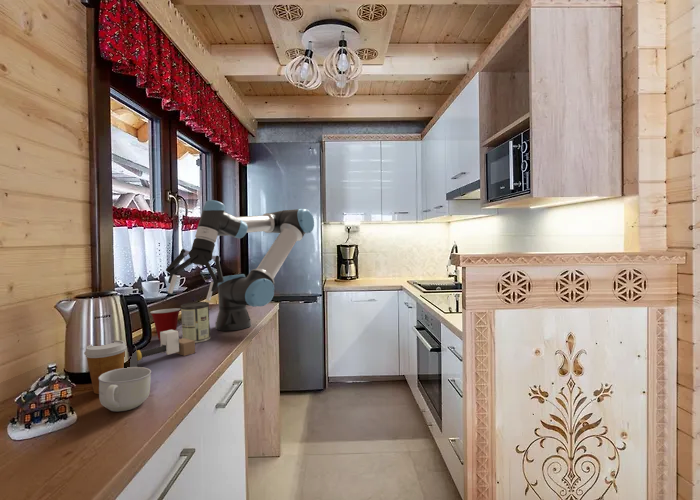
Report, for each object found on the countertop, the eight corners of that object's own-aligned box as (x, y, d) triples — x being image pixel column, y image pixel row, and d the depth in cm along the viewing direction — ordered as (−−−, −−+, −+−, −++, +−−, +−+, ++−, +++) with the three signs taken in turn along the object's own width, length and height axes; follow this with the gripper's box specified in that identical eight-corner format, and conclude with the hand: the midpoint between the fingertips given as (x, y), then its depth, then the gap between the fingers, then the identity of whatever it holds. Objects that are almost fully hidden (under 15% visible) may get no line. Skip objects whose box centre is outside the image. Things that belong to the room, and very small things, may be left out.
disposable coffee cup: (109, 381, 107) (107, 339, 106) (137, 383, 104) (134, 340, 104) (77, 395, 98) (74, 349, 97) (106, 398, 95) (104, 351, 95)
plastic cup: (180, 334, 158) (178, 305, 157) (183, 340, 149) (182, 309, 148) (150, 338, 152) (149, 308, 152) (152, 344, 143) (151, 313, 143)
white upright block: (172, 349, 131) (171, 329, 131) (179, 351, 128) (178, 331, 128) (160, 352, 128) (159, 332, 127) (167, 354, 125) (166, 333, 125)
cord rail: (184, 349, 136) (183, 330, 135) (195, 352, 131) (194, 332, 131) (117, 367, 118) (116, 345, 118) (127, 372, 114) (126, 349, 114)
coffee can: (190, 336, 154) (189, 301, 154) (215, 336, 153) (213, 301, 153) (176, 343, 144) (175, 306, 144) (202, 343, 143) (201, 306, 143)
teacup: (119, 396, 96) (117, 365, 96) (161, 396, 96) (159, 364, 95) (78, 423, 82) (76, 387, 82) (127, 423, 82) (125, 386, 82)
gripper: (167, 231, 137) (149, 288, 131) (236, 244, 139) (221, 301, 133) (174, 236, 144) (157, 291, 139) (240, 249, 146) (226, 304, 140)
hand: (189, 296), depth 136 cm, fingers open, 13 cm apart
